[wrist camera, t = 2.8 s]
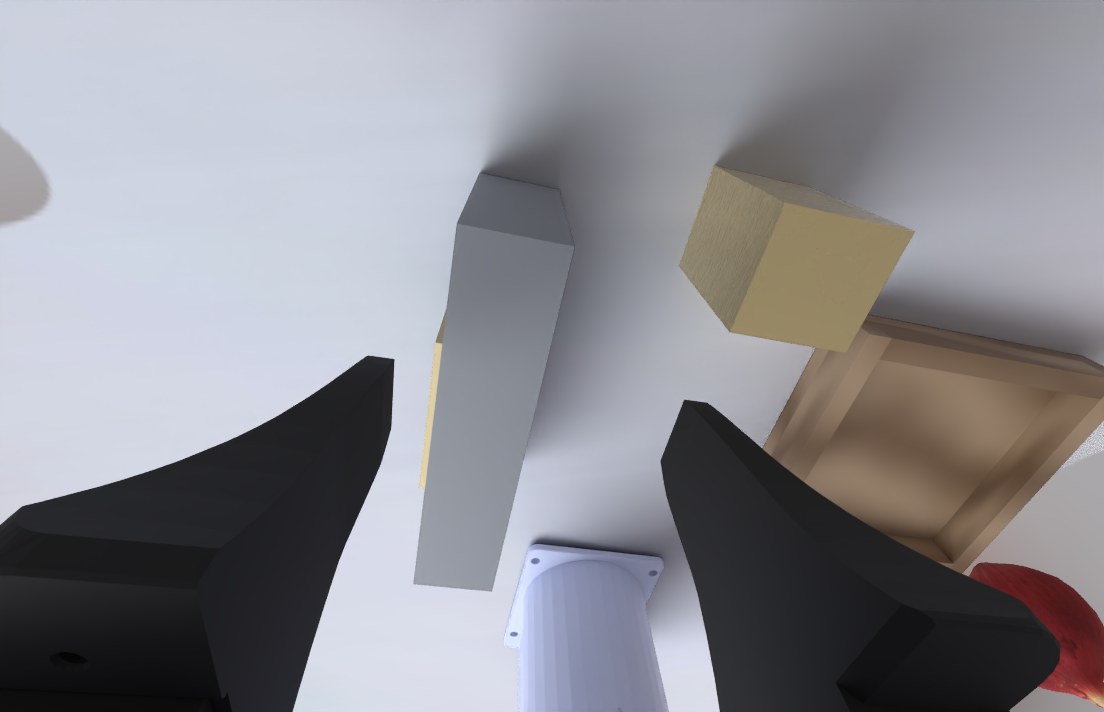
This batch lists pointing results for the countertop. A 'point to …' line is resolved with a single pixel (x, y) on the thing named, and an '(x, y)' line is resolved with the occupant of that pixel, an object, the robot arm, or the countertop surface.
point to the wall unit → (488, 374)
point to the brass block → (788, 259)
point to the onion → (1057, 625)
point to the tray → (936, 431)
